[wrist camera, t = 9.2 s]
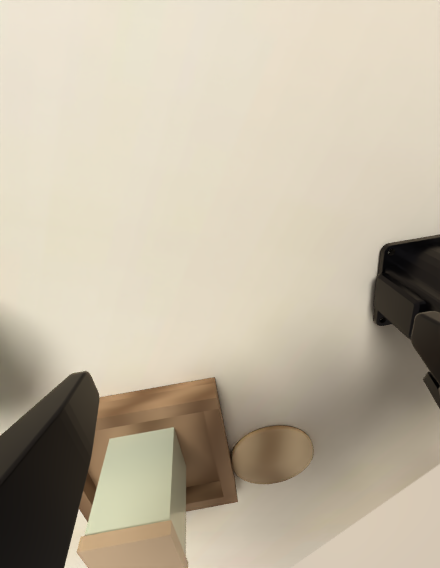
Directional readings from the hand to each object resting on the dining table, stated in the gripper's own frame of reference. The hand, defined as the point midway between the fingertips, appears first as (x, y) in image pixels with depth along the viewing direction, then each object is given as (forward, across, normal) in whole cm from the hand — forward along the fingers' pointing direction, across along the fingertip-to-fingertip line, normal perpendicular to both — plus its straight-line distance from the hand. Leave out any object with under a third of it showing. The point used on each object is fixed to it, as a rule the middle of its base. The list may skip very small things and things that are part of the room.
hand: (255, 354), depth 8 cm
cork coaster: (+12, -2, +23) cm, 26 cm away
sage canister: (+11, +9, +19) cm, 24 cm away
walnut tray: (+12, +9, +19) cm, 24 cm away
